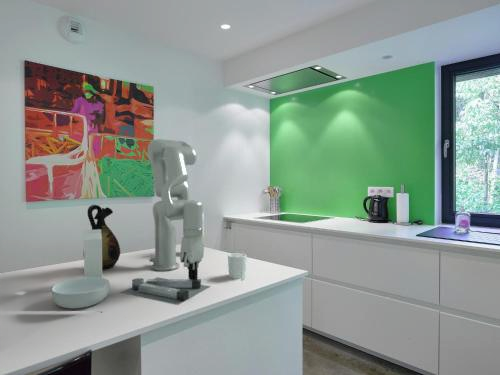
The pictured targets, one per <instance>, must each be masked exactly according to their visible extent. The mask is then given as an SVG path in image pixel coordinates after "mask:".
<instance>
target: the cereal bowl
mask: <svg viewBox="0 0 500 375" xmlns="http://www.w3.org/2000/svg"><path fill="white" fill-rule="evenodd" d="M110 284H111V283H110V280H109V279H108V278H105V277H102V278H100V277H77V278H76V277H75V278H72V279H71V278H70V279H67V280H63V281H61V282H59V283H56V284H55V285H54V286H53V287H52V288H51V297H52V298H51V299H53V302H54V303H55V304H56V305H57V306H59V307H62V308H65V309H73V310H74V309H83V308H88V307H91V306H95V305H96V304H98V303H100V302H102V301H103V300H105V298H106V297H107V296H108V293H109V290H110Z"/></svg>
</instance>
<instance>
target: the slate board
mask: <svg viewBox="0 0 500 375" xmlns="http://www.w3.org/2000/svg"><path fill="white" fill-rule="evenodd" d="M153 279H165V278H164V277H155V278H153ZM144 283H146V281H144ZM210 287H211V286H209V285H204V284H201V287H200V288H174V289H179V290H187V291H189V298H188V299H187V300H189V299H192V298H193V297H195V296H196V295H198V294H200V293H202V292H204V291H206V290H208V289H209V288H210ZM119 294H125V295H128V296H132V297H136V298H137V297H139V298H143V299H148V300H153V301H157V302H163V303H167V304H171V305H177V306H178V305H180V304H182V303H184V302H186V301H187V300H185V301H181V300H177V299H174V298H169V297H164V296H159V295H154V294H149V293H144V292H139V290H134V289H132V287H130V288H127V289H125V290H122V291H120V292H119Z"/></svg>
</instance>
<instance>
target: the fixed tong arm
mask: <svg viewBox="0 0 500 375" xmlns="http://www.w3.org/2000/svg"><path fill="white" fill-rule="evenodd" d="M139 292H144V293H149V294H154V295H159V296H164V297H169V298H174V299H177V300H181V301H184V302H186V301H187V299H188V298H189V291H187V290H179V289H174V288H168V287H163V286H157V285H152V284H146V283H142V284H139ZM185 300H186V301H185ZM188 300H189V299H188Z"/></svg>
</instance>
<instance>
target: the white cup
mask: <svg viewBox="0 0 500 375" xmlns="http://www.w3.org/2000/svg"><path fill="white" fill-rule="evenodd" d="M247 257H248V256H247V254H246V253H242V252H233V253H229V254H227V263H228V264H227V265H228V266H227V267H228V276H229V279H230V278H231V279H234V280H235V279H236V280H237V279H239V280H240V281H244V280H245V279H246V272H247Z"/></svg>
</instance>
